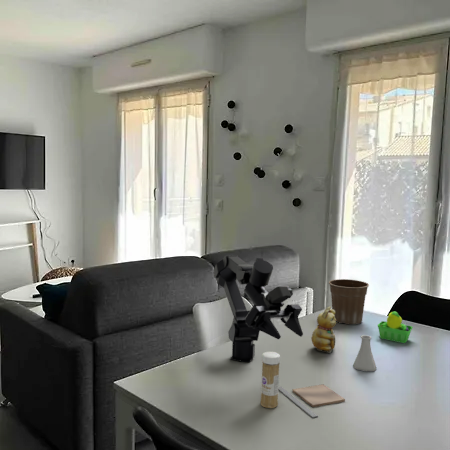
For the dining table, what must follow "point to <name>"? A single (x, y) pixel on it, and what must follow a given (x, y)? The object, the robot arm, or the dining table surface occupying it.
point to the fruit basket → (394, 329)
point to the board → (318, 395)
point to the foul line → (297, 402)
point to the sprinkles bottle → (270, 379)
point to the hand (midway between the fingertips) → (291, 336)
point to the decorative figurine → (325, 331)
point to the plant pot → (348, 300)
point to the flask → (365, 356)
